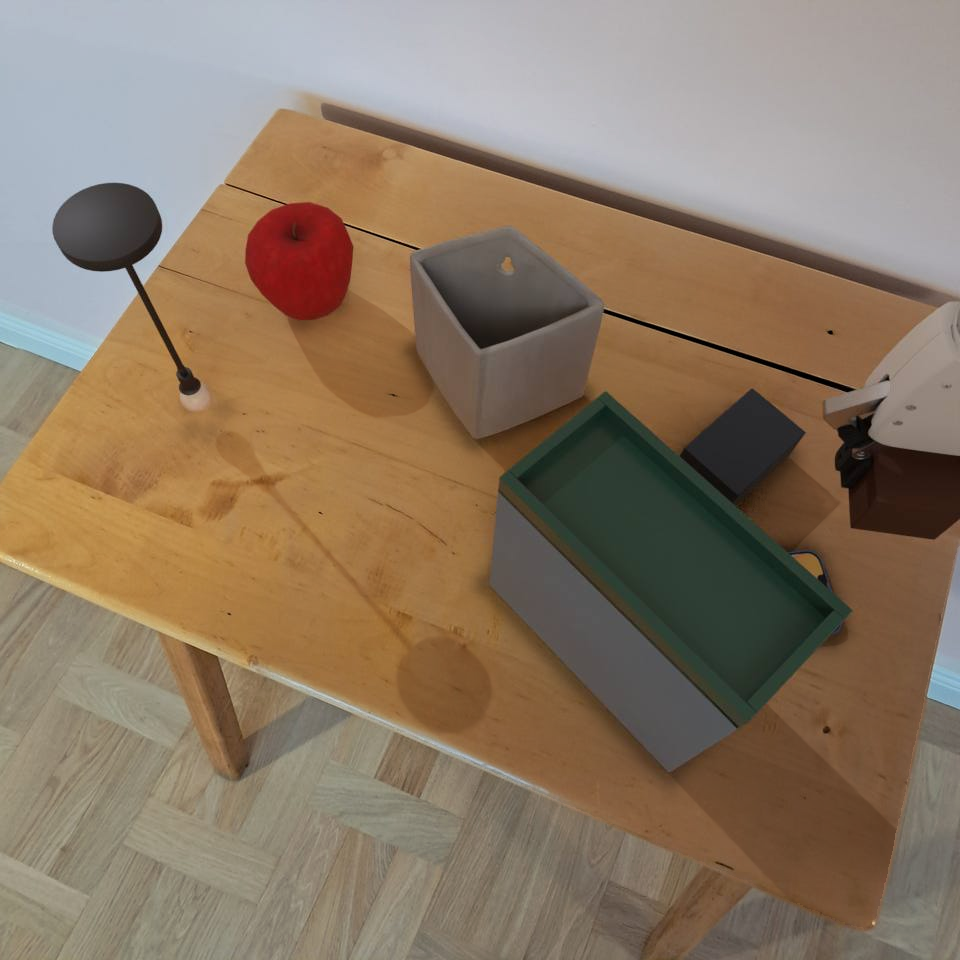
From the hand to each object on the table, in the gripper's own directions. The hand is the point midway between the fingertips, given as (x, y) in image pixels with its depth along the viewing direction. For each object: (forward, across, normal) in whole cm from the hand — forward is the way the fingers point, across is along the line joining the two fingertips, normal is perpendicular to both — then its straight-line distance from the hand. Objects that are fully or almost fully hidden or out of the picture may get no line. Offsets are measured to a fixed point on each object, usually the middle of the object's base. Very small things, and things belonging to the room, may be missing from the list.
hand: (891, 475), depth 64 cm
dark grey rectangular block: (+12, +8, -6) cm, 16 cm away
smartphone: (+13, +7, +7) cm, 16 cm away
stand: (+12, +18, +11) cm, 24 cm away
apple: (+12, +49, -18) cm, 54 cm away
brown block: (+1, 0, 0) cm, 1 cm away
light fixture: (+12, +56, -4) cm, 57 cm away
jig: (-6, +17, +11) cm, 21 cm away
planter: (+12, +31, -9) cm, 34 cm away
